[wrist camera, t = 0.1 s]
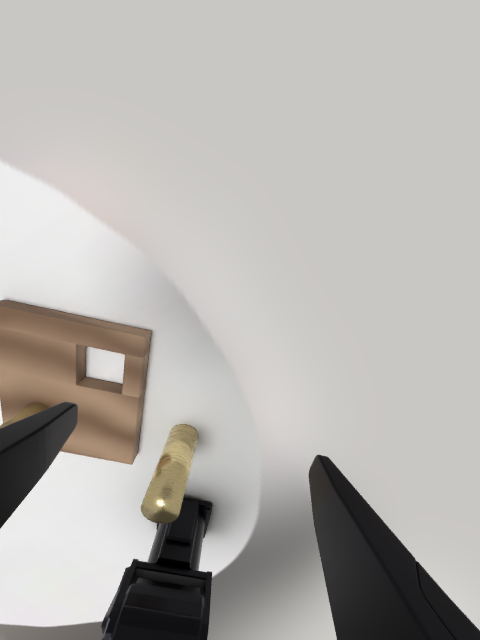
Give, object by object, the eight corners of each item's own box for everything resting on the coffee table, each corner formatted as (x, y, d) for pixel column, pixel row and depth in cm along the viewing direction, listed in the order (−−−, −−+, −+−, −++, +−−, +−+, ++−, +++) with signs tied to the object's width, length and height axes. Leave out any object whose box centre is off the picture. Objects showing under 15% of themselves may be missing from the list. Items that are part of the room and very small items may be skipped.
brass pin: (195, 448, 28) (176, 526, 20) (168, 443, 28) (139, 519, 20) (200, 427, 27) (181, 500, 19) (172, 421, 27) (142, 493, 19)
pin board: (137, 453, 28) (104, 518, 22) (17, 430, 28) (-55, 490, 21) (151, 331, 23) (113, 367, 17) (4, 299, 23) (-96, 324, 16)
